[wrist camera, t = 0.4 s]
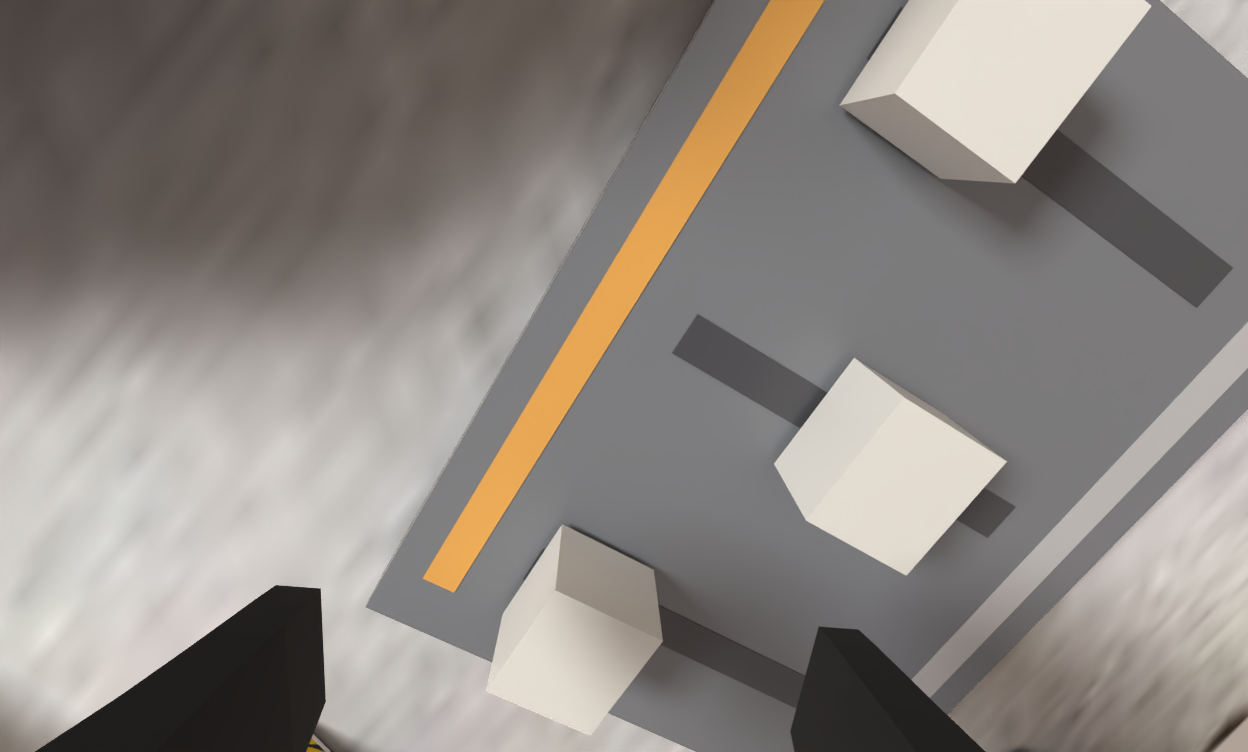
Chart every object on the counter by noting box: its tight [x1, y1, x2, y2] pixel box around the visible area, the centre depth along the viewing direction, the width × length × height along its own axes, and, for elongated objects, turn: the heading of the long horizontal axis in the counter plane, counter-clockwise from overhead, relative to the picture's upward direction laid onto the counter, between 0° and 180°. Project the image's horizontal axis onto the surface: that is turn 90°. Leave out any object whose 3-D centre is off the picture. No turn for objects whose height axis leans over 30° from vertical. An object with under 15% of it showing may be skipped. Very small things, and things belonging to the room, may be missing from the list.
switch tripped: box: [774, 358, 1007, 576], centre depth 15 cm, size 3×4×3 cm
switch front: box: [840, 0, 1151, 183], centre depth 13 cm, size 3×4×3 cm
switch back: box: [486, 524, 663, 736], centre depth 17 cm, size 3×4×3 cm
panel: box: [366, 0, 1248, 752], centre depth 18 cm, size 18×24×2 cm
